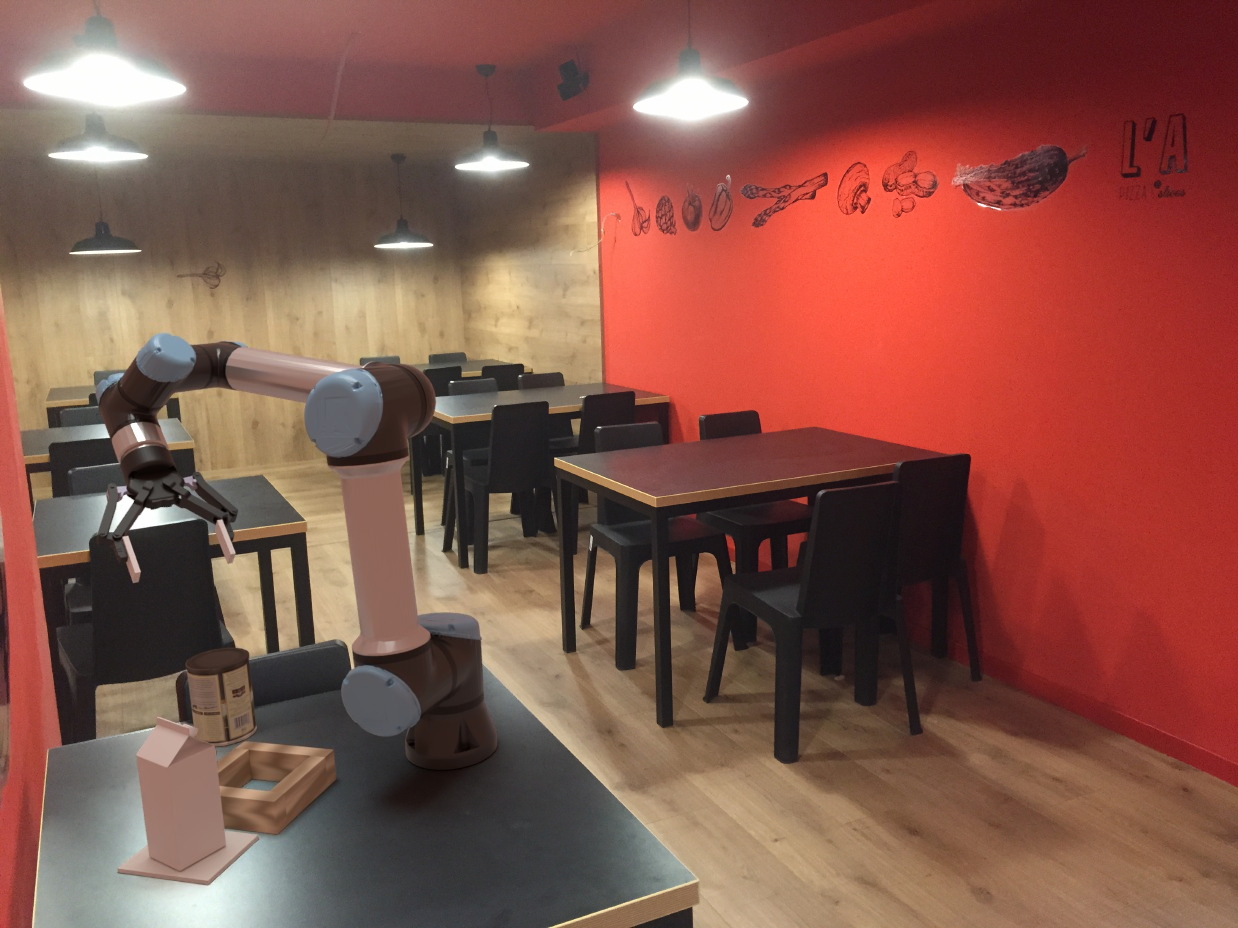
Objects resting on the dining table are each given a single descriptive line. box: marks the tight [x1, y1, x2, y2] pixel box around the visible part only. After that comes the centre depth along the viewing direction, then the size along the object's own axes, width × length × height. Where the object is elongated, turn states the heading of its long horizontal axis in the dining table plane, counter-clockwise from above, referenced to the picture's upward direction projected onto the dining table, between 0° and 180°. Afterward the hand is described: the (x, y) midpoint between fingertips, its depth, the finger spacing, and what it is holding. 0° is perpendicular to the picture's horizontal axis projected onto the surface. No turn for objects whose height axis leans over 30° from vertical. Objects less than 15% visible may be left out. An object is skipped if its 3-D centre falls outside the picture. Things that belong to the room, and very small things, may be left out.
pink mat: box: [116, 830, 260, 886], centre depth 133 cm, size 14×11×1 cm
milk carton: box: [135, 716, 226, 871], centre depth 131 cm, size 7×7×19 cm
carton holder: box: [217, 740, 337, 835], centre depth 146 cm, size 16×16×5 cm
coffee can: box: [184, 647, 258, 748], centre depth 169 cm, size 10×10×14 cm
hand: (185, 568), depth 145 cm, fingers open, 13 cm apart
